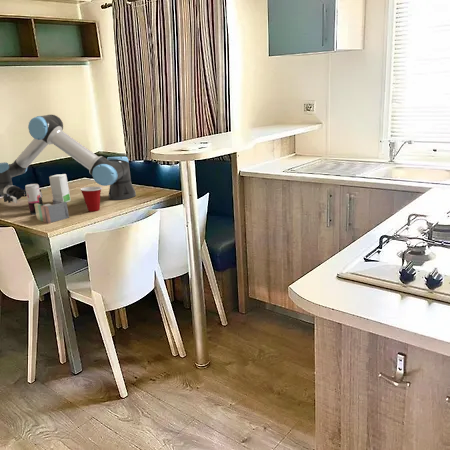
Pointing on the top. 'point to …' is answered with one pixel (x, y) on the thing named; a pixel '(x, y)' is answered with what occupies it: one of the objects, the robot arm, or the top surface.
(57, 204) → the grey desk organizer
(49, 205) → the plunger
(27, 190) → the beverage can
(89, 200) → the plastic cup
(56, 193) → the skincare box
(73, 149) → the robot arm
